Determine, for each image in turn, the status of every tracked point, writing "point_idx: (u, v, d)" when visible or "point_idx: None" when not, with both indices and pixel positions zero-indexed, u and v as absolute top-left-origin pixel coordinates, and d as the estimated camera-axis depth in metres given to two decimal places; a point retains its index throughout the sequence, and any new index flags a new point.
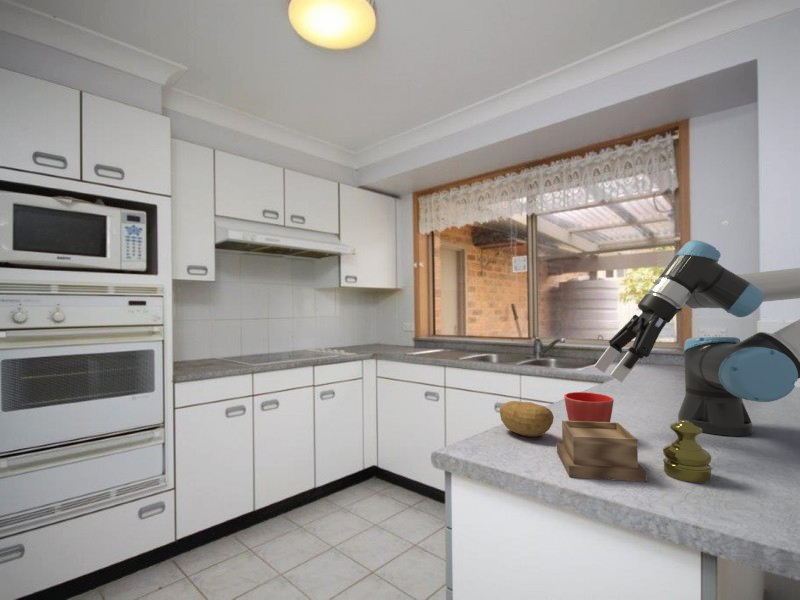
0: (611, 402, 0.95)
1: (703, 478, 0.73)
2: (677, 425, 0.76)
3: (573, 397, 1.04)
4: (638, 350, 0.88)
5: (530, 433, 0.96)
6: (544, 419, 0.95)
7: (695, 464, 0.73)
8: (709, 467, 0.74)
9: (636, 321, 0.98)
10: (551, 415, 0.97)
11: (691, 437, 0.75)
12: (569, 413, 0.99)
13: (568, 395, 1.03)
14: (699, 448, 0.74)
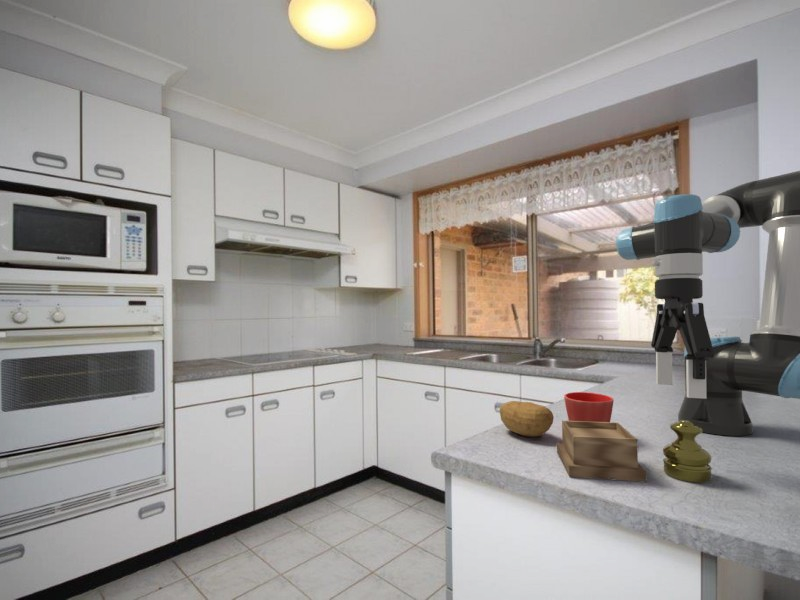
0: (611, 402, 0.95)
1: (703, 478, 0.73)
2: (677, 425, 0.76)
3: (573, 397, 1.04)
4: (698, 355, 0.68)
5: (530, 433, 0.96)
6: (544, 419, 0.95)
7: (695, 464, 0.73)
8: (709, 467, 0.74)
9: (666, 314, 0.79)
10: (551, 415, 0.97)
11: (691, 437, 0.75)
12: (569, 413, 0.99)
13: (568, 395, 1.03)
14: (699, 448, 0.74)
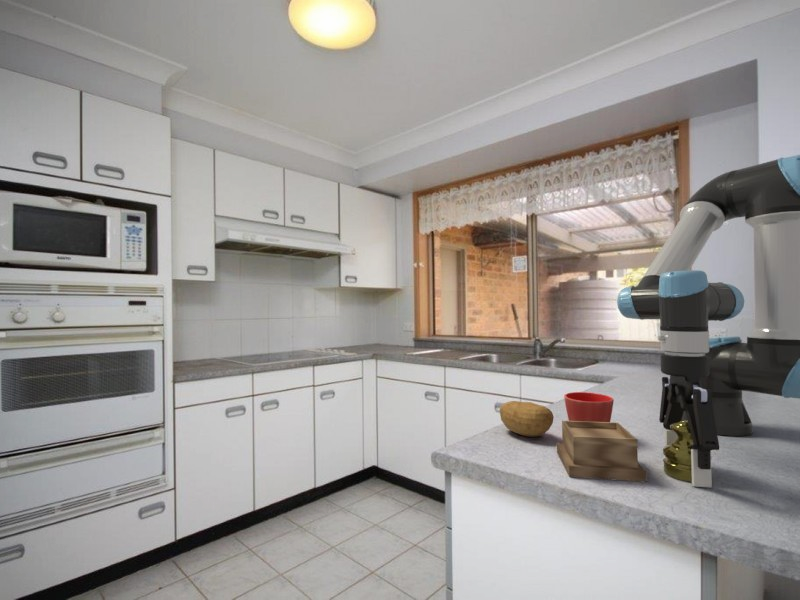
0: (611, 402, 0.95)
1: None
2: (677, 425, 0.76)
3: (573, 397, 1.04)
4: (704, 448, 0.68)
5: (530, 433, 0.96)
6: (544, 419, 0.95)
7: None
8: None
9: (673, 389, 0.78)
10: (551, 415, 0.97)
11: (691, 437, 0.75)
12: (569, 413, 0.99)
13: (568, 395, 1.03)
14: None
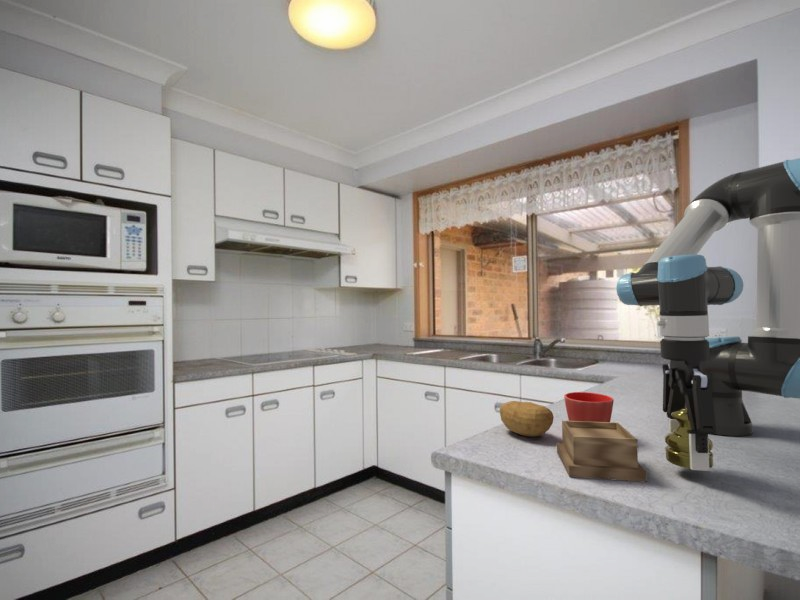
0: (611, 402, 0.95)
1: None
2: (679, 413, 0.76)
3: (573, 397, 1.04)
4: (701, 432, 0.70)
5: (530, 433, 0.96)
6: (544, 419, 0.95)
7: None
8: (711, 454, 0.74)
9: (673, 374, 0.78)
10: (551, 415, 0.97)
11: None
12: (569, 413, 0.99)
13: (568, 395, 1.03)
14: None
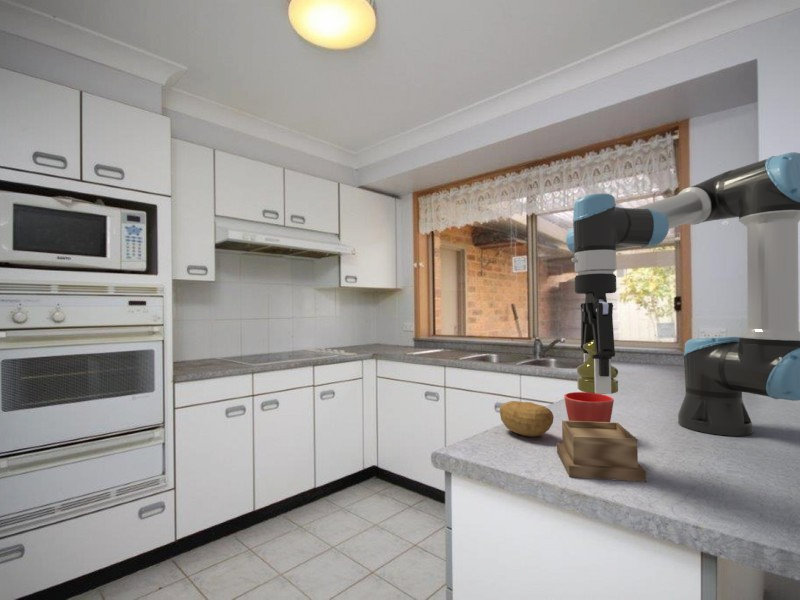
0: (611, 402, 0.95)
1: None
2: (588, 343, 0.81)
3: (573, 397, 1.04)
4: (601, 355, 0.75)
5: (530, 433, 0.96)
6: (544, 419, 0.95)
7: None
8: (616, 381, 0.79)
9: (586, 308, 0.83)
10: (551, 415, 0.97)
11: None
12: (569, 413, 0.99)
13: (568, 395, 1.03)
14: None
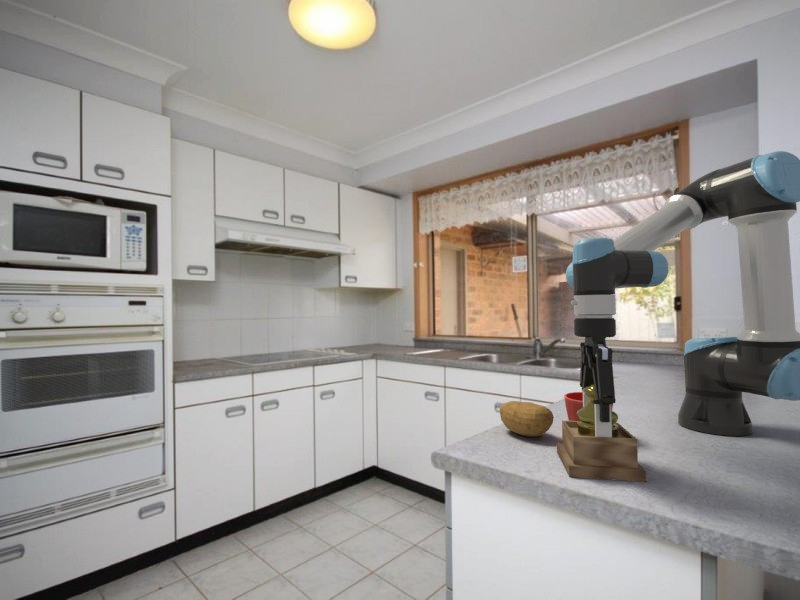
0: None
1: None
2: (588, 388, 0.81)
3: (573, 397, 1.04)
4: (602, 401, 0.74)
5: (530, 433, 0.96)
6: (544, 419, 0.95)
7: None
8: (616, 426, 0.79)
9: (585, 351, 0.83)
10: (551, 415, 0.97)
11: None
12: (569, 413, 0.99)
13: (568, 395, 1.03)
14: None
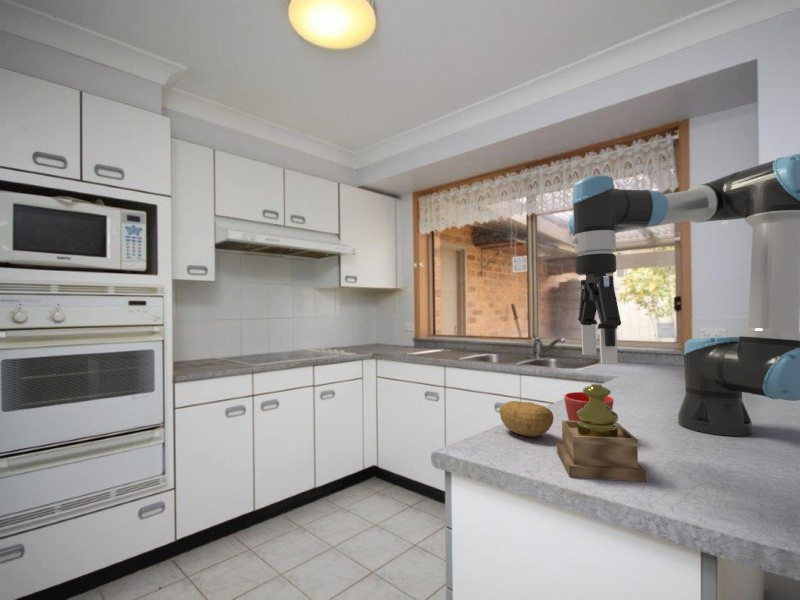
0: (611, 402, 0.95)
1: (608, 436, 0.78)
2: (588, 388, 0.81)
3: (573, 397, 1.04)
4: (607, 324, 0.74)
5: (530, 433, 0.96)
6: (544, 419, 0.95)
7: (601, 422, 0.78)
8: (616, 426, 0.79)
9: (586, 289, 0.85)
10: (551, 415, 0.97)
11: (600, 399, 0.80)
12: (569, 413, 0.99)
13: (568, 395, 1.03)
14: (607, 409, 0.79)
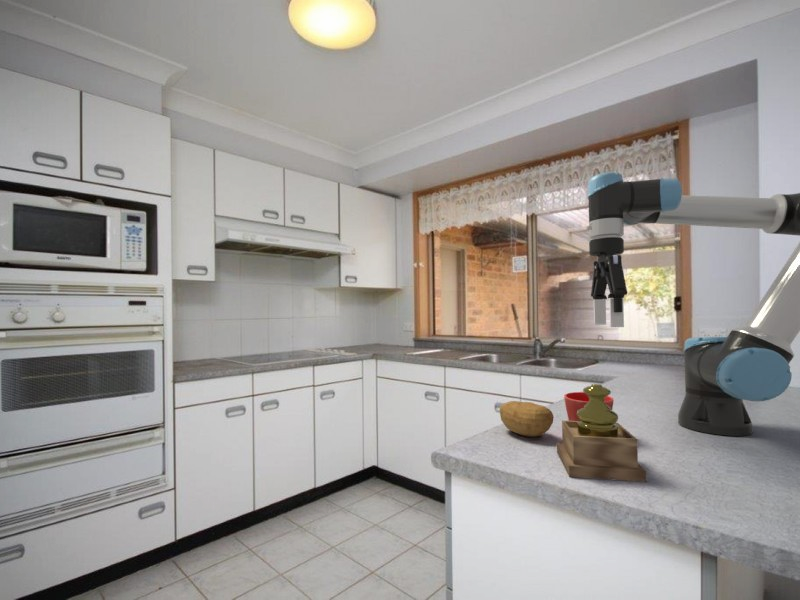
0: (611, 402, 0.95)
1: (608, 436, 0.78)
2: (588, 388, 0.81)
3: (573, 397, 1.04)
4: (616, 293, 0.90)
5: (530, 433, 0.96)
6: (544, 419, 0.95)
7: (601, 422, 0.78)
8: (616, 426, 0.79)
9: (598, 267, 1.01)
10: (551, 415, 0.97)
11: (600, 399, 0.80)
12: (569, 413, 0.99)
13: (568, 395, 1.03)
14: (607, 409, 0.79)
